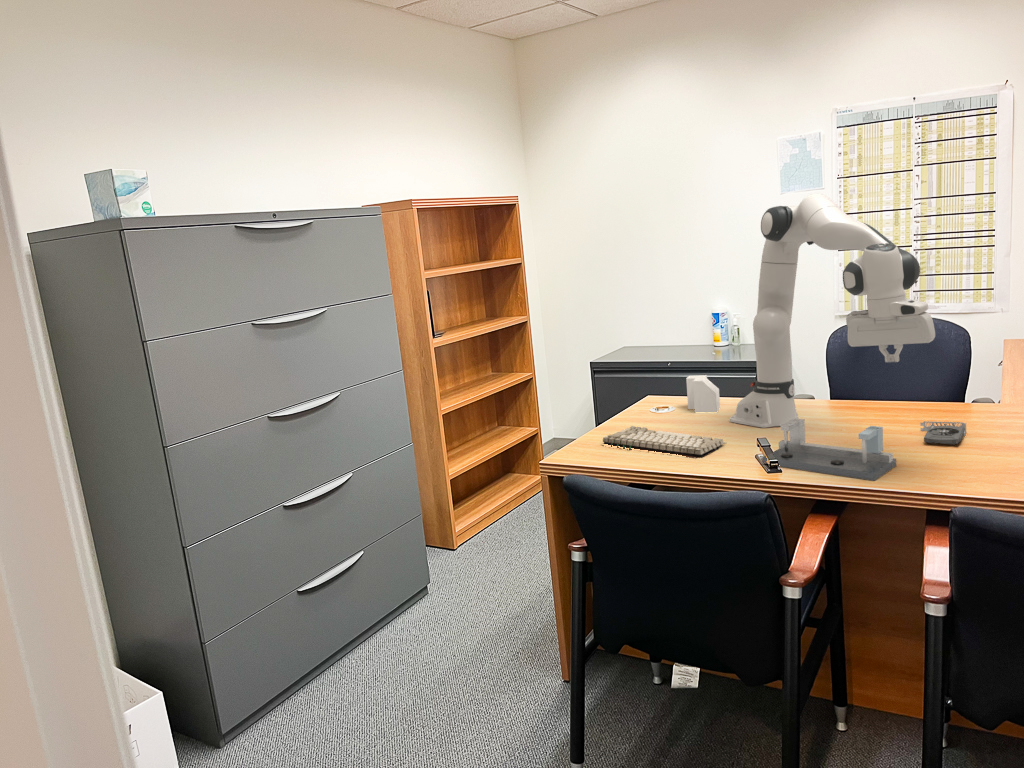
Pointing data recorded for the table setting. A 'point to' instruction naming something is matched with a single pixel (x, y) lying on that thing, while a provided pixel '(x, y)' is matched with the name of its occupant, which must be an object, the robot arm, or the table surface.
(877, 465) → the grey fixture base
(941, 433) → the graphics card
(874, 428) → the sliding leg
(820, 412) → the table surface
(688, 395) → the grey chamfered block
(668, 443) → the mechanical keyboard
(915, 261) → the robot arm
